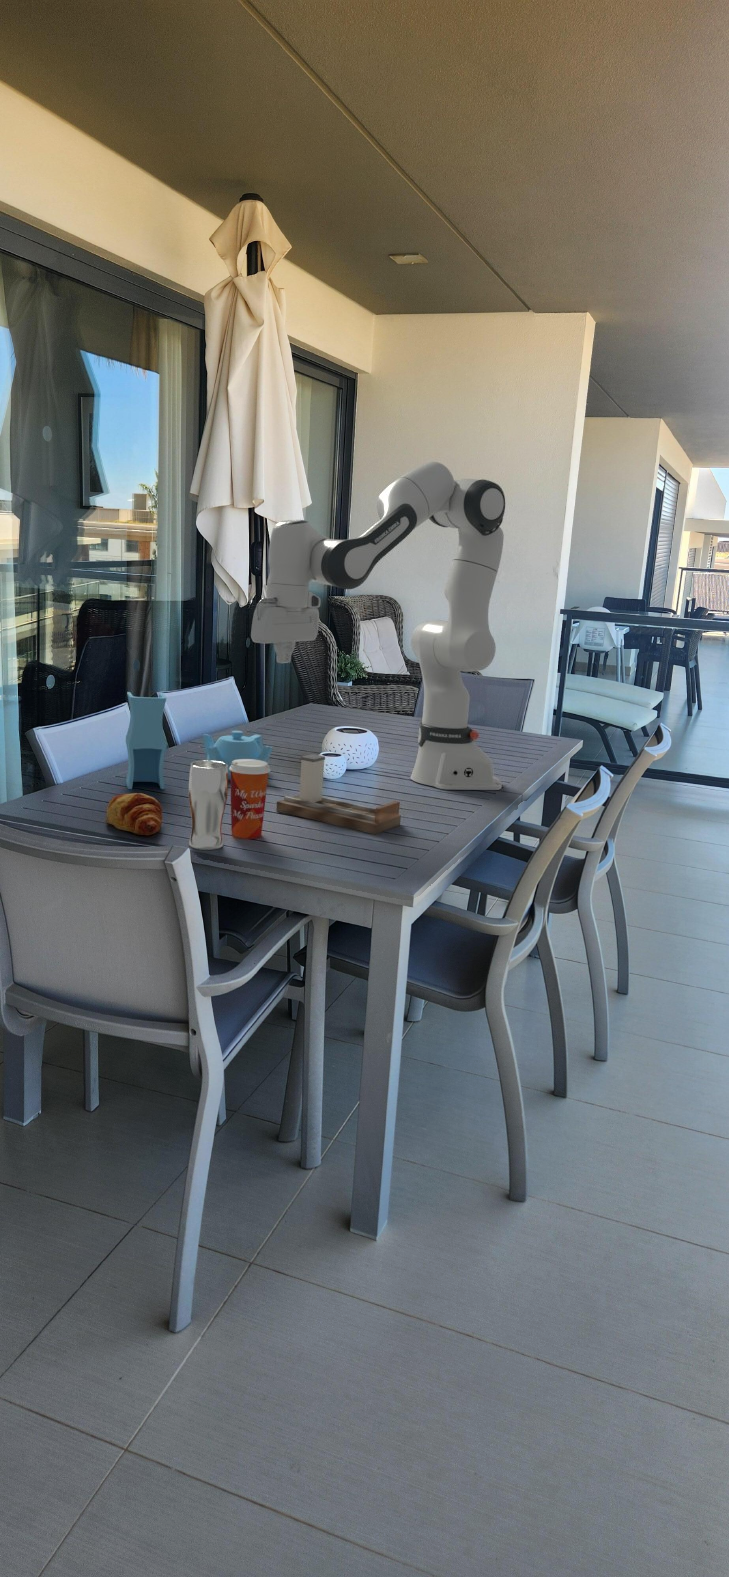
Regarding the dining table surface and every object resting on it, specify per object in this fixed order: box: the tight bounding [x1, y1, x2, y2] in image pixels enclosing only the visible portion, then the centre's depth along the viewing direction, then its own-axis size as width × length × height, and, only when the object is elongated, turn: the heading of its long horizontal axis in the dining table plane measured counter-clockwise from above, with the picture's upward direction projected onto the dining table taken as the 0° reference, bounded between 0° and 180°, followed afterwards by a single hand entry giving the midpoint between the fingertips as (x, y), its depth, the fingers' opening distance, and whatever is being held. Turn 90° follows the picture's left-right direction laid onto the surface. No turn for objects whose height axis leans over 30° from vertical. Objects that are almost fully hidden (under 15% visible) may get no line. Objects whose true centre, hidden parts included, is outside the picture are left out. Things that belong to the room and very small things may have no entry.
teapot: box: [202, 730, 274, 782], centre depth 234 cm, size 15×15×11 cm
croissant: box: [106, 792, 163, 836], centre depth 188 cm, size 21×10×8 cm, turn 33°
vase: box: [125, 691, 167, 790], centre depth 218 cm, size 8×8×20 cm
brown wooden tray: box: [276, 794, 402, 835], centre depth 205 cm, size 24×10×5 cm, turn 59°
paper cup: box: [229, 759, 272, 840], centre depth 186 cm, size 8×8×14 cm
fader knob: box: [298, 753, 326, 803], centre depth 207 cm, size 3×4×9 cm
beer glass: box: [188, 759, 229, 851], centre depth 178 cm, size 7×7×15 cm
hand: (283, 662), depth 215 cm, fingers closed
